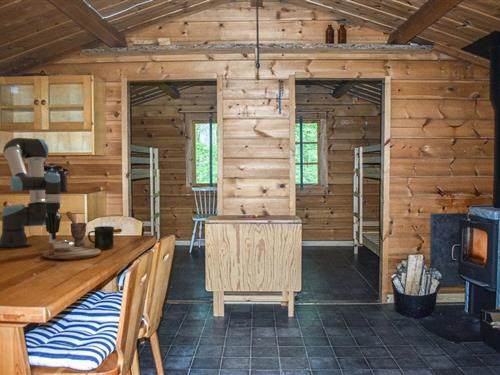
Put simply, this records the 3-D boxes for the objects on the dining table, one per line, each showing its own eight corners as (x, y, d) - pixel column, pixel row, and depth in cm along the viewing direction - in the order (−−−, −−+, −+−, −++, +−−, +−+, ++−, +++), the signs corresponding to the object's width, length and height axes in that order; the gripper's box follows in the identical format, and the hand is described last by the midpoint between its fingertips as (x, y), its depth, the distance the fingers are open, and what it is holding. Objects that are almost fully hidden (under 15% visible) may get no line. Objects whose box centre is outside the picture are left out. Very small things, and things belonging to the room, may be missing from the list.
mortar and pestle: (63, 246, 259) (63, 212, 258) (66, 244, 267) (66, 210, 266) (84, 246, 261) (84, 212, 260) (87, 243, 269) (87, 210, 269)
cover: (50, 250, 236) (50, 240, 236) (66, 247, 244) (66, 238, 244) (61, 252, 230) (61, 242, 230) (78, 249, 239) (78, 240, 239)
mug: (111, 249, 251) (112, 228, 251) (85, 249, 250) (85, 228, 250) (116, 246, 262) (116, 226, 262) (90, 246, 261) (90, 226, 260)
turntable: (31, 254, 229) (31, 240, 229) (78, 247, 253) (78, 234, 253) (65, 261, 214) (65, 246, 214) (112, 252, 238) (112, 239, 238)
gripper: (39, 201, 242) (38, 244, 243) (53, 202, 235) (53, 247, 236) (51, 201, 249) (51, 243, 249) (66, 202, 242) (66, 245, 242)
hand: (52, 245), depth 243 cm, fingers closed
